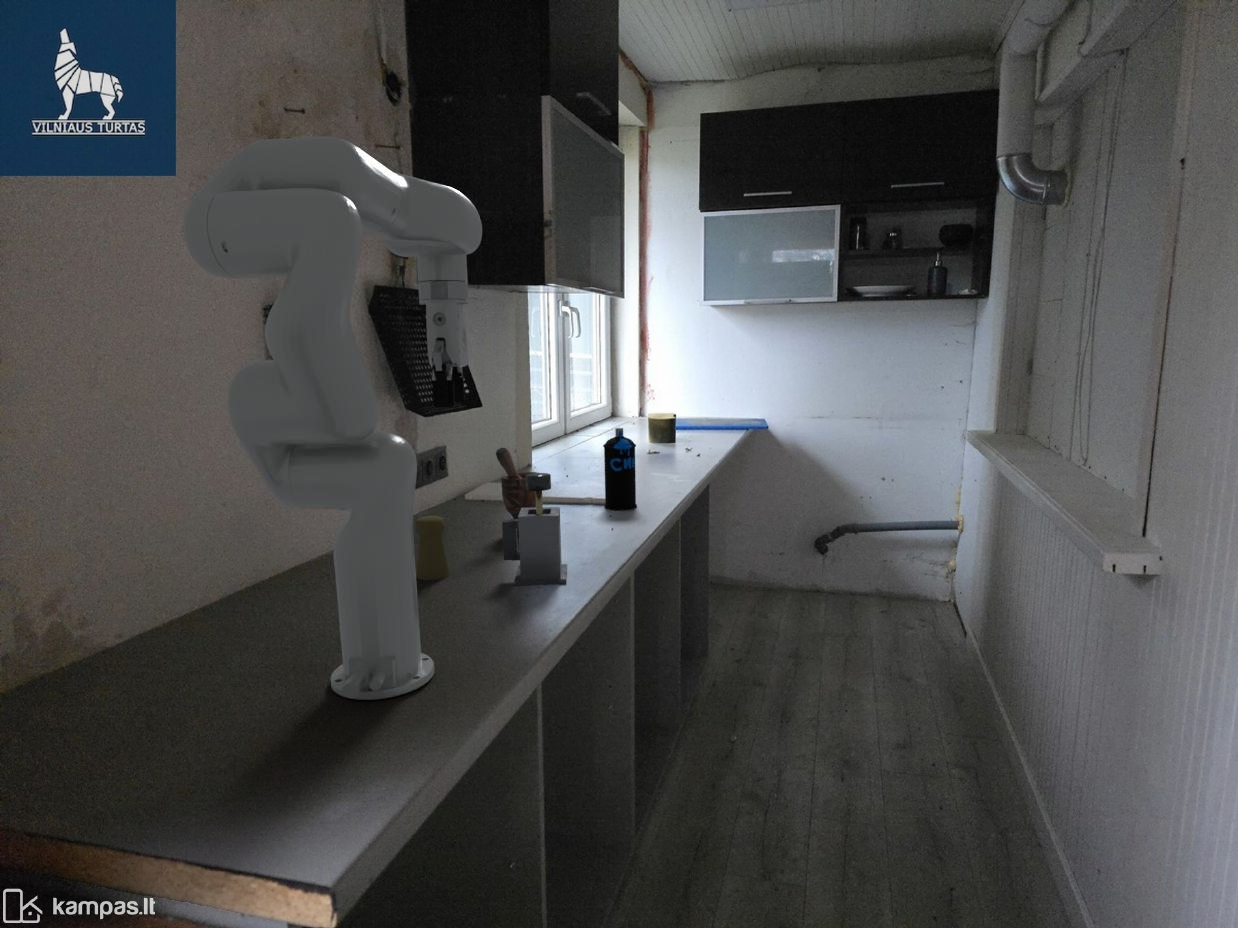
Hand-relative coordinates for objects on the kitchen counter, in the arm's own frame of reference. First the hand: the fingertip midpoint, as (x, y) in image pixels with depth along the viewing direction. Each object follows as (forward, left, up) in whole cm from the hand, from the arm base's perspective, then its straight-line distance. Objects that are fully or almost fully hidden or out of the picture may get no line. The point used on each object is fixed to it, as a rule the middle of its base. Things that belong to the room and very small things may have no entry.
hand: (449, 404), depth 121 cm
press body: (+10, -12, -32) cm, 36 cm away
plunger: (+10, -13, -28) cm, 33 cm away
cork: (+13, +7, -32) cm, 36 cm away
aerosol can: (+65, -30, -32) cm, 79 cm away
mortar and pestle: (+40, -7, -32) cm, 52 cm away
